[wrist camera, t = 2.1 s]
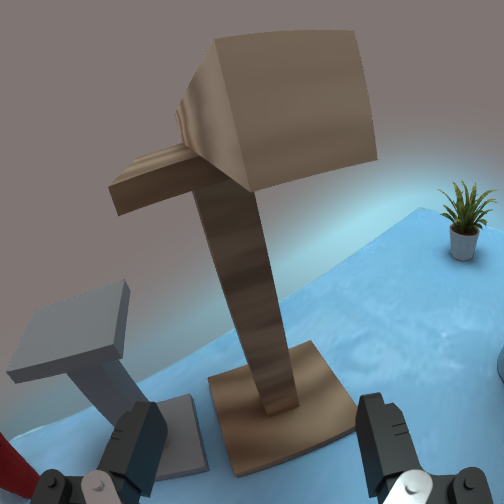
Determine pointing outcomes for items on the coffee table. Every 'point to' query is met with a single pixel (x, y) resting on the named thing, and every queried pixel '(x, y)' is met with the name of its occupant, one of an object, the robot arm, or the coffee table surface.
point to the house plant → (465, 223)
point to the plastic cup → (16, 471)
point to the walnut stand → (247, 320)
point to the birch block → (279, 106)
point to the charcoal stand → (104, 369)
